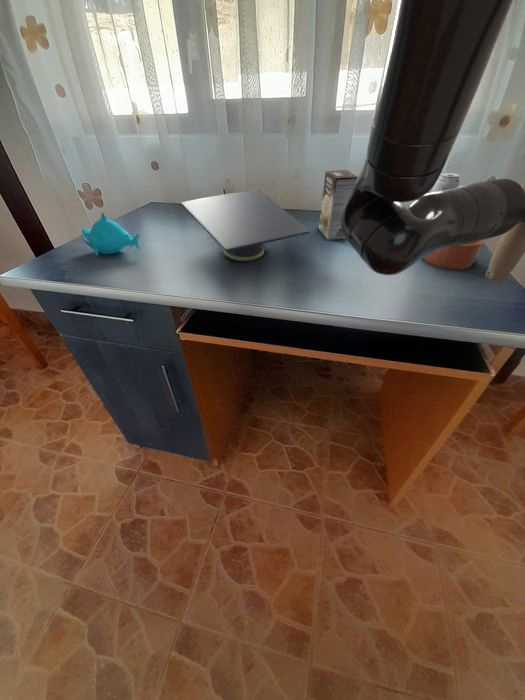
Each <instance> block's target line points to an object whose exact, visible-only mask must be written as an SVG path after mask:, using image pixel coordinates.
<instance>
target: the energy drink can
mask: <svg viewBox="0 0 525 700" xmlns="http://www.w3.org/2000/svg"><path fill="white" fill-rule="evenodd" d="M459 177H460V174H458V173H453V172H441V174H440V176H439V178H438V180H437V182H436V183H435V185H434V186H433V188H432V189H431V192H430V193H432V192H436V191H442V190H448V189H454V188H457V187H459V185H460V178H459Z"/></svg>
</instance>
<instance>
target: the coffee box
mask: <svg viewBox="0 0 525 700" xmlns="http://www.w3.org/2000/svg"><path fill="white" fill-rule="evenodd" d="M357 178H358V176H357V175H356V174H353V173H352V172H351V171H349V170H347V169H340V170H325V173H324V182H323V191H322V199H321V200H322V201H321V208H320V217H319V227H318V230H319V231H320V232H321V234H322V235H323V236H324V237H325V238H326V240H343V239H345V237H344V235H343V233H342V228H341V215H342V211H343V208H344V206H345V204H346V202H347V200H348V198H349V195H350V193H351V191H352V189H353V187H354V185H355V182H356V180H357Z"/></svg>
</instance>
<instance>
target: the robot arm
mask: <svg viewBox="0 0 525 700" xmlns="http://www.w3.org/2000/svg"><path fill="white" fill-rule="evenodd" d="M513 1H514V0H397V5H396V9H395V15H394V19H393V24H392V29H391V33H390V38H389V42H388V46H387V50H386V51H387V52H386V56H385V60H384V65H383V71H382V75H381V80H380V84H379V89H378V93H377V97H376V98H377V99H376V102H375V103H376V104H375V108H374V113H373V117H372V118H373V119H372V123H371V129H370V134H369V137H368V143H367V144H368V145H367V149H366V155H365V159H364V164H363V166H362V169H361V170H360V172H359V174H358V176H357V177H358V178H357V180H356V182H355V185H354V187H353V189H352V191H351V193H350V195H349V198H348V200H347V202H346V204H345V206H344V208H343V211H342V215H341V228H342V233H343V235H344V237H345V238H344V239H345V241H346V242H347V243H348V244H349V246H350V247H351V248H352V249H353V250H354V251H355V252H356V254H357V255H358V256H359V258H360V259H361V260H362V261H363V263H365V264H366V266H367V267H368V268H369V269H370V270H371V271H372V272H373V273H376V274H377V275H381V276H395V275H399V274H401V273H403V272H405V271H406V270H408V269H409V268H411V267H412V266H414V265H415V264H416V263H417V262H419V261H420V260H422V259H423V257H425V256H426V255H428V254H430V253H431V252H433V251H435V250H437V249H441V248H445V247H449V246H453V245H463V244H468V243H472V242H476V241H480V240H483V241H484V240H489V239H491V238H495V237H499V236H502V235H504V234H505V233H506V232H508V231H509V230H510V229H512V228H513V227H514V226H516V225H517V224H519V223H521V222H525V192H524V190H523V188H522V187H521V184H519V182H517V181H515V180H512V179H510V178H497V179H491V180H485V181H478V182H473V183H467V184H466V183H465V184H463V185H460V186H459V185H458V187H457V188H454V189H448V190H442V191H436V192H432V189H433V186H434V185H435V183H436V182H437V180H438V178H439V176H440V174H441V173H443V170H444V168H445V165H446V163H447V161H448V159H449V156H450V154H451V152H452V149H453V147H454V145H455V142H456V141H457V138H458V136H459V133H460V132H461V129H462V127H463V124H464V123H465V120H466V118H467V116H468V113H469V111H470V109H471V106H472V103H473V101H474V99H475V97H476V94H477V91H478V89H479V86H480V84H481V81H482V79H483V76H484V74H485V71H486V70H487V67H488V64H489V62H490V58H491V56H492V54H493V51H494V48H495V46H496V43H497V41H498V39H499V36H500V34H501V31H502V28H503V26H504V25H505V24H504V23H505V21H506V19H507V17H508V14H509V11H510V10H511V6H512V5H513ZM430 191H431V192H432V193H431V192H430ZM407 202H411V203H410V204H409V205H408V207H407V206H406V205H405V204H404V203H407Z"/></svg>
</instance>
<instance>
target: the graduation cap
mask: <svg viewBox="0 0 525 700" xmlns="http://www.w3.org/2000/svg"><path fill="white" fill-rule="evenodd" d="M180 205H181V207H183V208H184V209H185V210H186V211H187V213H188V214H190V215H191V217H192V218H193V219H194V220H195V221H196V222H197V223H198V224H199V225H200V226H201V227H202V228H203V230H205V232H207V234H208V235H209V236H210V237H211V238H212V239H213V240H214V241H215V242H216V243H217V244H218V245H219V247H221V248H222V249H223V253H224V255H225V256H226V257H227V258H230V259H232V260H234V261H240V262H241V261H242V262H246V261H253V260H256V259H259V258H261V257H262V256H263V255H264V254H265V247H264V244H268V243H272V242H276V241H280V240H281V241H282V240H285V239H286V240H287V239H290V238H294V237H299V236H303V235H308V234H310V232H311V231H310V230H309V229H308V228H307V227H306V226H304V224H302V223H300V222H299V221H298V220H297V219H296V218H295V217H293V216H292V215H291V214H290V213H288V211H286V210H285V209H283V208H282V207H281V206H280V205H278V204H277V203H276V202H275V201H274V200H273V199H271V197H269V196H268V195H267V194H265V193H264V192H263V191H262V190H250V191H249V190H248V191H241V192H232V193H225V194H224V193H223V194H219V195H213V196H212V195H211V196H206V197H201V198H196V199H191V200H185V201H182V202H180Z"/></svg>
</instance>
